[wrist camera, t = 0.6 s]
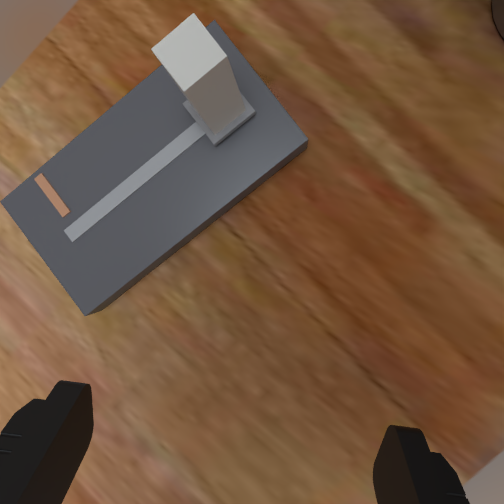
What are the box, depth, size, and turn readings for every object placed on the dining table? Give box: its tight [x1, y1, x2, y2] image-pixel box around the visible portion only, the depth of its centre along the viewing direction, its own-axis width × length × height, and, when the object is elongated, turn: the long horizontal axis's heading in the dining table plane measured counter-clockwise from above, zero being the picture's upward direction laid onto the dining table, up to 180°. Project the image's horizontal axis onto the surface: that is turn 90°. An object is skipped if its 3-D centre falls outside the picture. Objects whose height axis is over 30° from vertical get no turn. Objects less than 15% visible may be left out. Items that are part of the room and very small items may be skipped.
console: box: [0, 20, 308, 316], centre depth 34 cm, size 23×12×3 cm, turn 128°
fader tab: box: [151, 13, 256, 146], centre depth 27 cm, size 4×4×10 cm
